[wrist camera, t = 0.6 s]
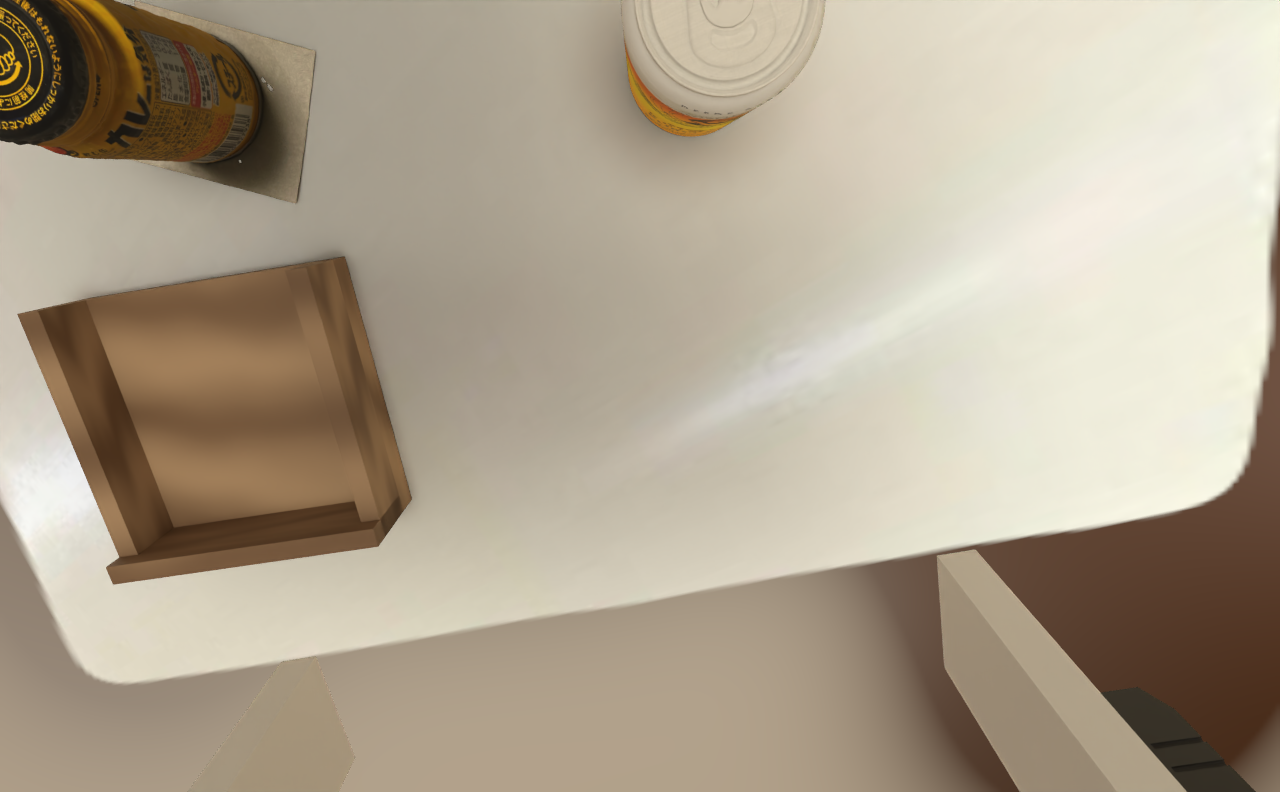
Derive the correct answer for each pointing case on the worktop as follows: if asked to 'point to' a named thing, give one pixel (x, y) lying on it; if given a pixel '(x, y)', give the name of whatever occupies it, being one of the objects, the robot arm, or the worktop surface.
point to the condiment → (155, 91)
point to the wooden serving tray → (225, 419)
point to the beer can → (714, 57)
